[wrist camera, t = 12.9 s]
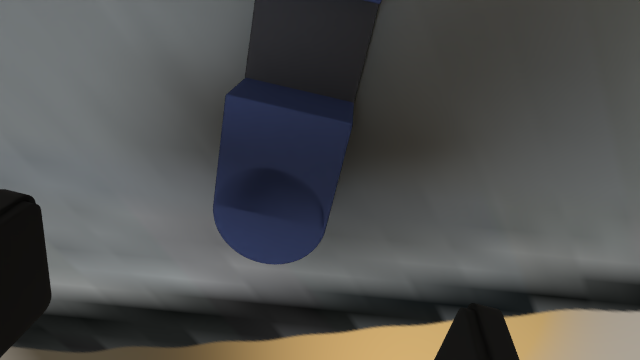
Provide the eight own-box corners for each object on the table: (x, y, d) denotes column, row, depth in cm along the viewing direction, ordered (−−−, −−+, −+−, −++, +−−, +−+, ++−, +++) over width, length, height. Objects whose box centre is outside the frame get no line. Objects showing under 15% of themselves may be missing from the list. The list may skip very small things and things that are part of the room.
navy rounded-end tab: (266, -47, 17) (241, -53, 14) (383, -19, 17) (389, -18, 14) (231, 208, 23) (207, 251, 19) (321, 228, 23) (313, 275, 19)
